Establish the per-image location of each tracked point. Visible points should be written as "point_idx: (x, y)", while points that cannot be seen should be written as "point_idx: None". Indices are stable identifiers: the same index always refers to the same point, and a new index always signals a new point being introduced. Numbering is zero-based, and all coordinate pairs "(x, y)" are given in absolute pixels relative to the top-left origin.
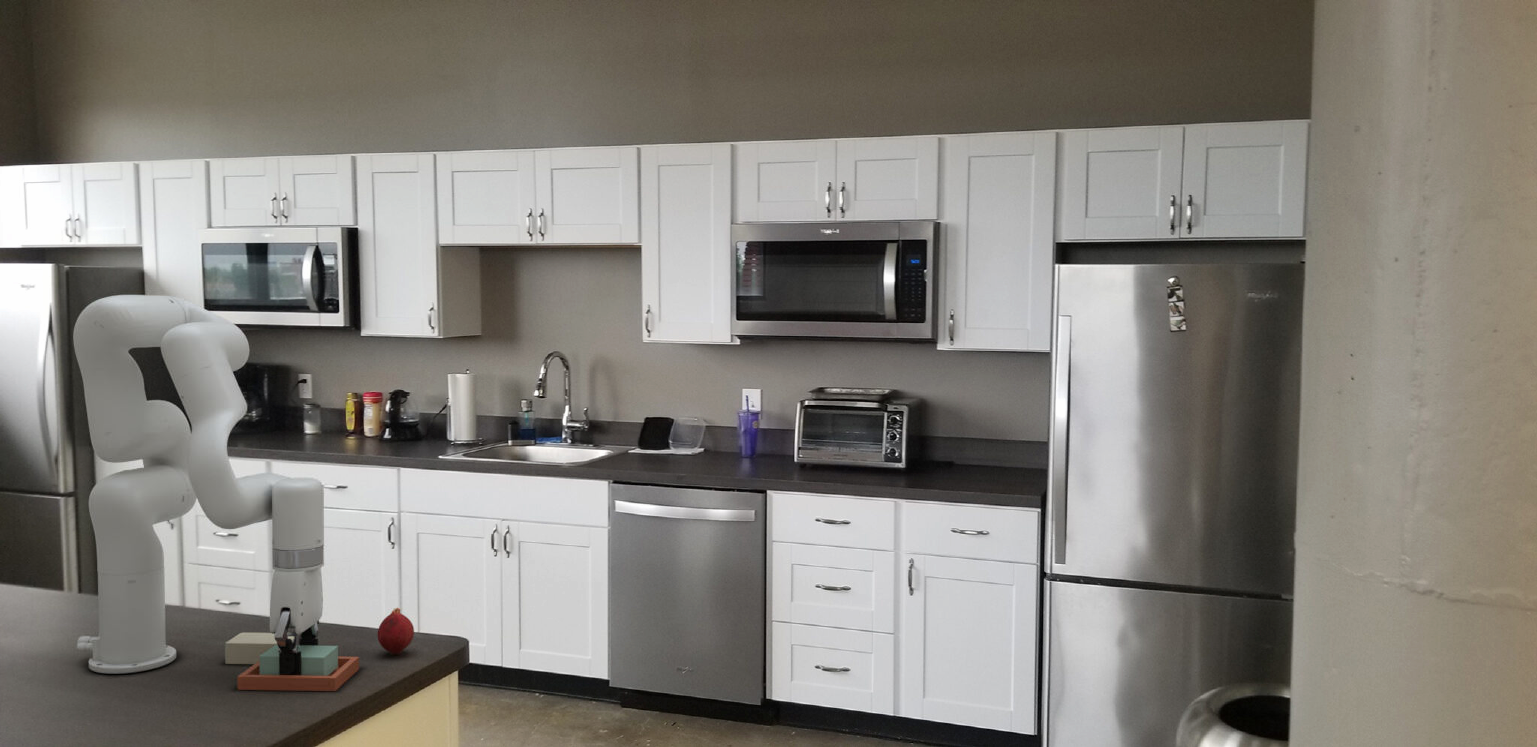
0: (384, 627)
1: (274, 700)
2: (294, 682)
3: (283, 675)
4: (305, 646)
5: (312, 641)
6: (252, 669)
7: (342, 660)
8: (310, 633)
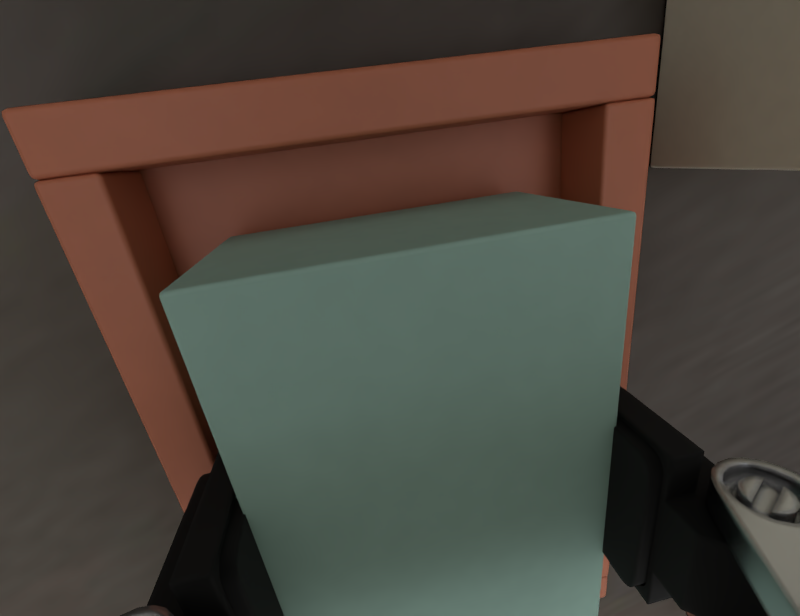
0: None
1: (26, 472)
2: None
3: (203, 463)
4: (575, 504)
5: (625, 567)
6: (257, 140)
7: None
8: (722, 608)
